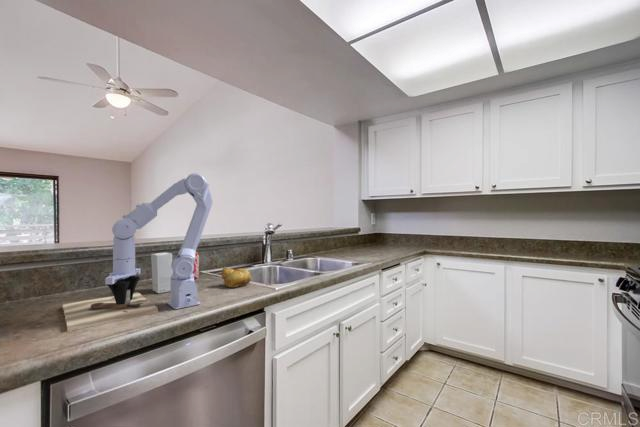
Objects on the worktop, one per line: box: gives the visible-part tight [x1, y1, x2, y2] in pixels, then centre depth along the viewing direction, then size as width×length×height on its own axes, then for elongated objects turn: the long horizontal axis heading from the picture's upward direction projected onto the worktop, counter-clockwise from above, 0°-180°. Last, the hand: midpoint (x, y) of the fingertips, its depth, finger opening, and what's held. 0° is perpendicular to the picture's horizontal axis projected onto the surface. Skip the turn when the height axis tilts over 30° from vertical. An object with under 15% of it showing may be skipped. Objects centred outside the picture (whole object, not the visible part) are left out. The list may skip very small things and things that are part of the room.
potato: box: [221, 266, 252, 288], centre depth 123 cm, size 13×10×8 cm
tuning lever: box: [91, 289, 140, 309], centre depth 89 cm, size 14×3×5 cm, turn 94°
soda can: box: [193, 251, 200, 283], centre depth 130 cm, size 7×7×13 cm
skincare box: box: [150, 252, 173, 294], centre depth 114 cm, size 8×6×15 cm
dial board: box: [62, 291, 159, 332], centre depth 91 cm, size 26×21×1 cm
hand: (124, 302), depth 89 cm, fingers closed on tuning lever, 3 cm apart
